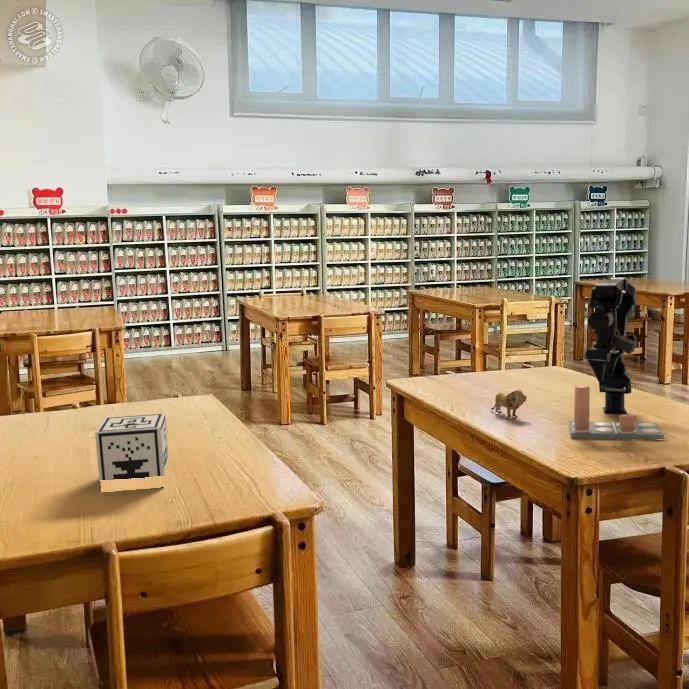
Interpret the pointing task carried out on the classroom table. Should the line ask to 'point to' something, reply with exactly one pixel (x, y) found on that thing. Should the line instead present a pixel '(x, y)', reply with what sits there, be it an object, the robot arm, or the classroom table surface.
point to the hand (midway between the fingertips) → (605, 379)
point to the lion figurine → (509, 401)
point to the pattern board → (618, 430)
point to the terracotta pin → (581, 408)
